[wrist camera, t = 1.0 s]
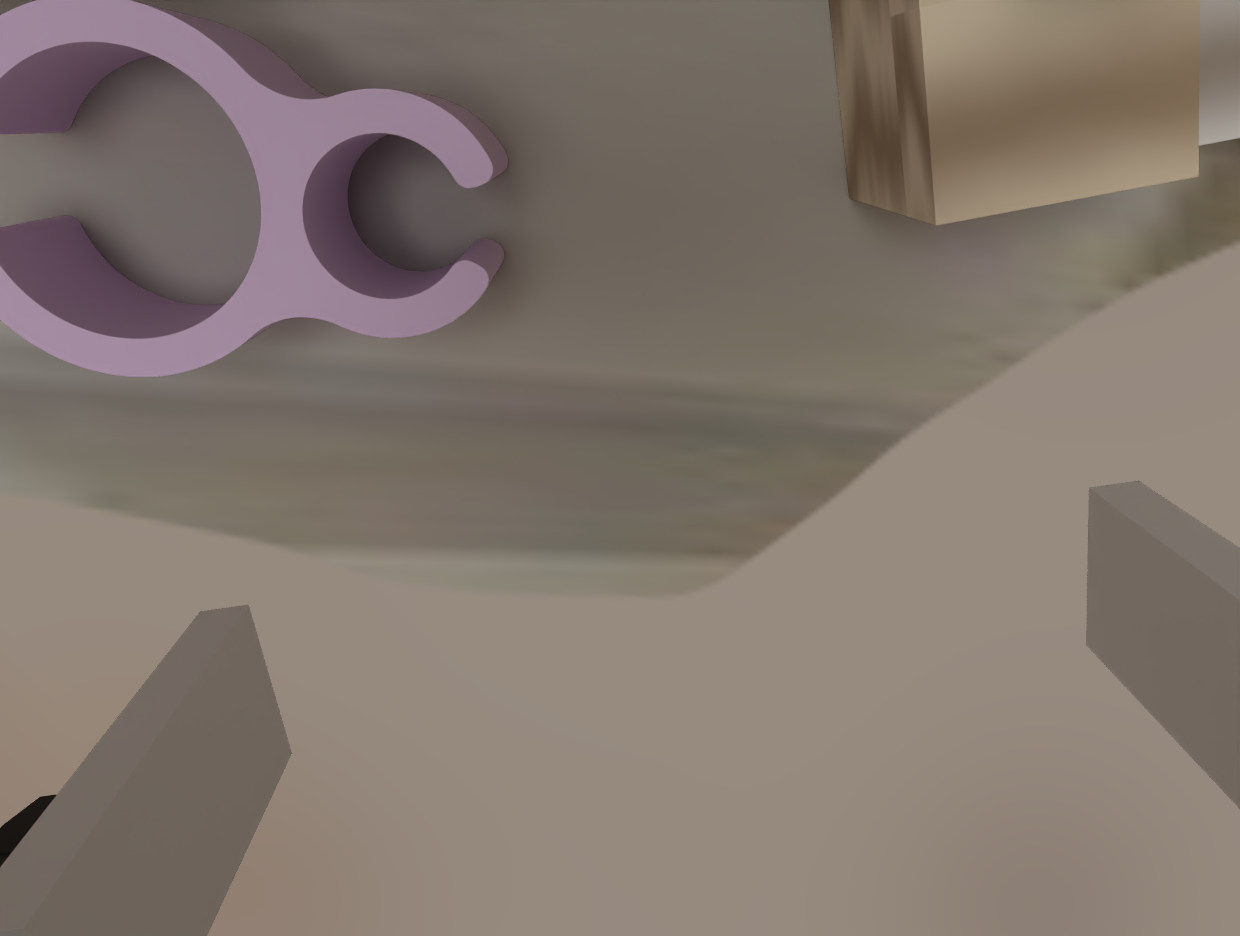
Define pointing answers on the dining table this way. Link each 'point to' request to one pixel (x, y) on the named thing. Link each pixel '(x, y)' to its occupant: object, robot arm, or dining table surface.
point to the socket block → (1028, 99)
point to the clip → (288, 184)
